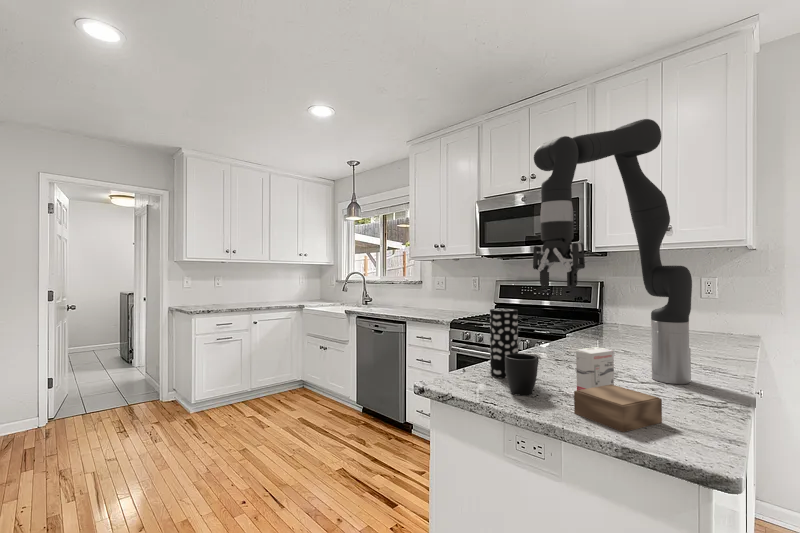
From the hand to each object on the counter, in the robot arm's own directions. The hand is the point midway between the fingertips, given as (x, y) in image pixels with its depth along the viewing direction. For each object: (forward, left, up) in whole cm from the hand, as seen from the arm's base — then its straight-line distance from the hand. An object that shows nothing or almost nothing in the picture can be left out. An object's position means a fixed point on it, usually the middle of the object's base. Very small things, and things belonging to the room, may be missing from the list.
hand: (557, 287), depth 101 cm
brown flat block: (-3, +14, -28) cm, 31 cm away
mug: (+1, -10, -28) cm, 30 cm away
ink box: (-12, +1, -28) cm, 31 cm away
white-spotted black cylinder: (-5, -26, -28) cm, 39 cm away
